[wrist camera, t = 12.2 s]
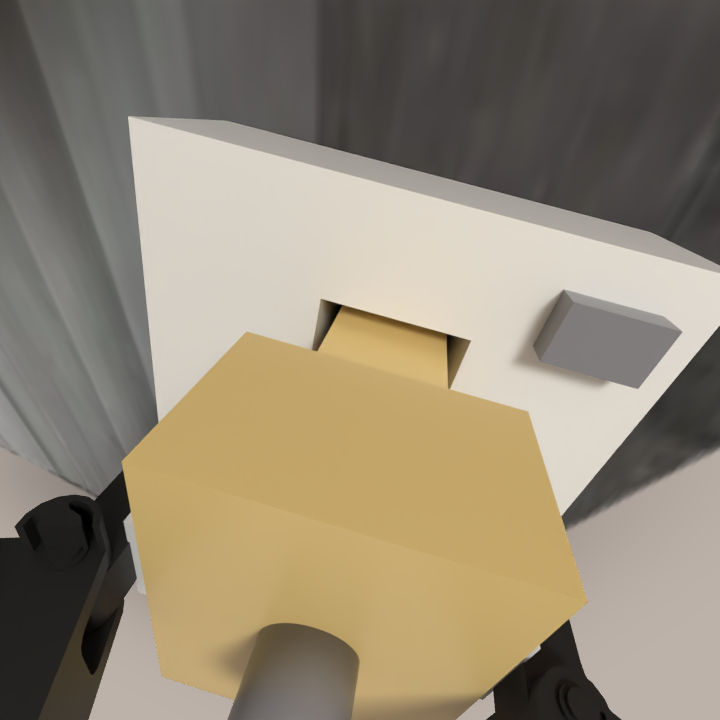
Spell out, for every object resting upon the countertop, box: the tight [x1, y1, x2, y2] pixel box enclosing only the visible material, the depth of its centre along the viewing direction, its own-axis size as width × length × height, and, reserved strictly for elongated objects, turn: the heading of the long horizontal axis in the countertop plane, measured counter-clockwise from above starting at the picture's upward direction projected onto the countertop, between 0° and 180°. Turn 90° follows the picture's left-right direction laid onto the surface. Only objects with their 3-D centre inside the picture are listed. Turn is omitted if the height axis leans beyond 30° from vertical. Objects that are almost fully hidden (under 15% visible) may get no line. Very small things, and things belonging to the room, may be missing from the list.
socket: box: [128, 116, 720, 516], centre depth 16 cm, size 18×14×7 cm
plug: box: [122, 305, 588, 720], centre depth 11 cm, size 6×8×13 cm
